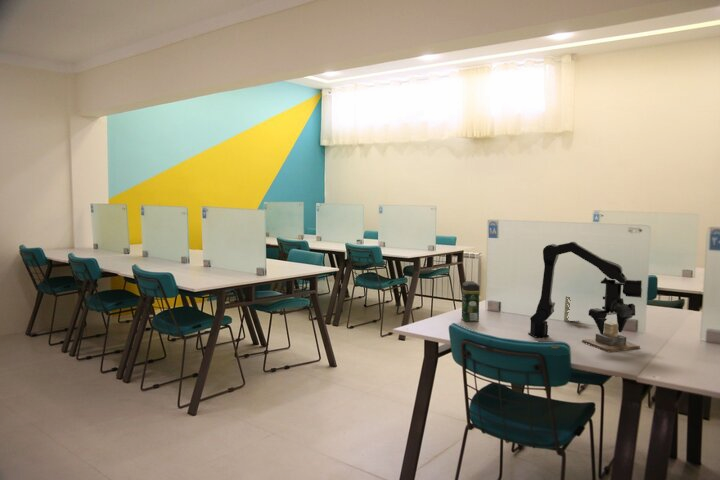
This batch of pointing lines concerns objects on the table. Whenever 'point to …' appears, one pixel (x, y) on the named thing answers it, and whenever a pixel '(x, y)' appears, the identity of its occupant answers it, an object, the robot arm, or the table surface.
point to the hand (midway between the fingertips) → (610, 333)
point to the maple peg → (610, 329)
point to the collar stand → (611, 343)
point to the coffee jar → (470, 301)
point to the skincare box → (566, 308)
